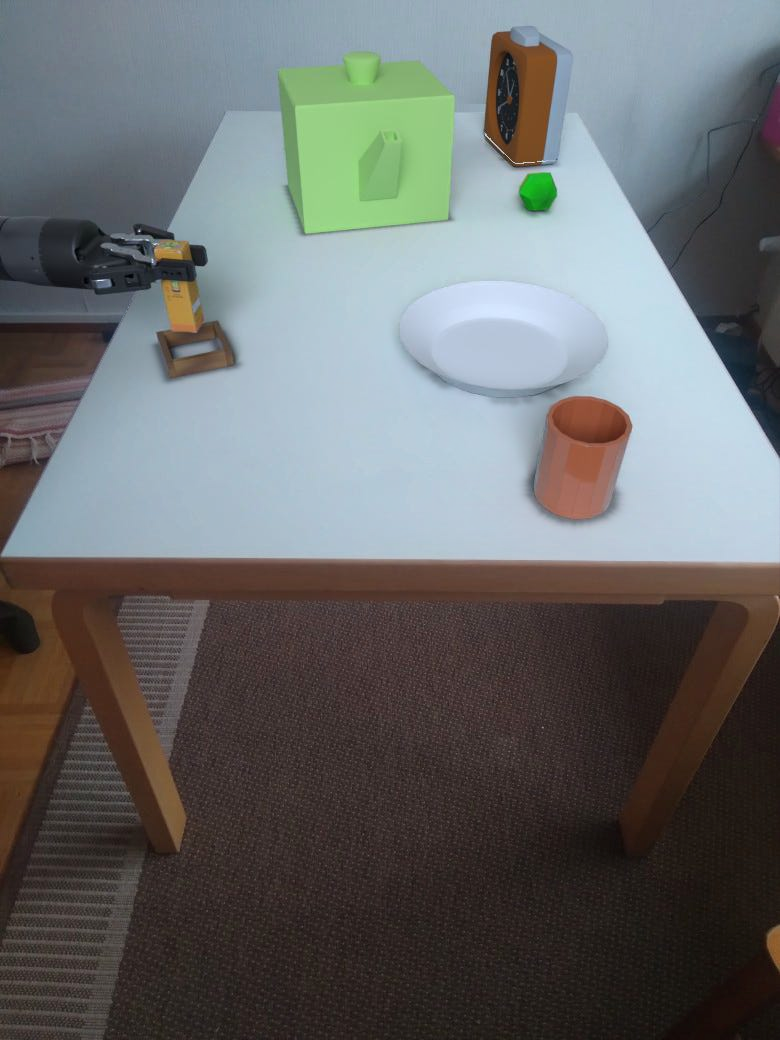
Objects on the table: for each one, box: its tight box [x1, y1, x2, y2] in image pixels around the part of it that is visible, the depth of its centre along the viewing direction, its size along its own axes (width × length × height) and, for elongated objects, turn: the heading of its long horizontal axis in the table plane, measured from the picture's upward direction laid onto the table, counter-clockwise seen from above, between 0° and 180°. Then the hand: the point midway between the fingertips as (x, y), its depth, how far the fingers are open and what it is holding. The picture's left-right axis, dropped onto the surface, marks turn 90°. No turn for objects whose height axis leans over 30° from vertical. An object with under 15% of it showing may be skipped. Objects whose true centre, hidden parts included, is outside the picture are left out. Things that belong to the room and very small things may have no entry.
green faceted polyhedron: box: [518, 171, 558, 211], centre depth 122 cm, size 7×6×9 cm
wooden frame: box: [155, 319, 235, 379], centre depth 90 cm, size 8×8×2 cm
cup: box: [533, 395, 633, 520], centre depth 70 cm, size 8×8×9 cm
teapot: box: [277, 50, 456, 235], centre depth 116 cm, size 24×35×22 cm
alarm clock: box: [483, 25, 574, 168], centre depth 135 cm, size 18×9×21 cm, turn 14°
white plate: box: [398, 280, 609, 399], centre depth 90 cm, size 25×25×4 cm
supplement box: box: [154, 239, 205, 333], centre depth 84 cm, size 3×3×10 cm
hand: (199, 263), depth 82 cm, fingers closed on supplement box, 3 cm apart
